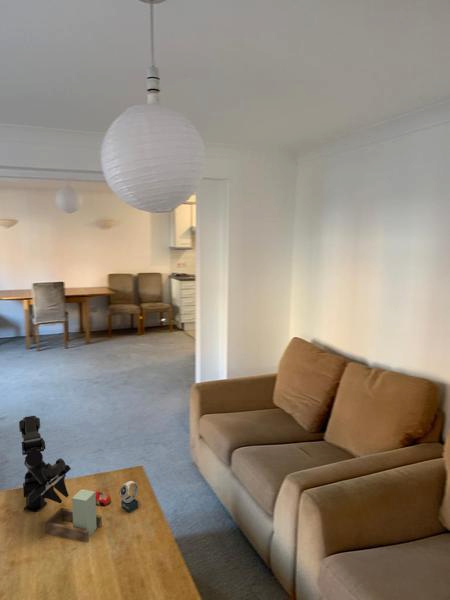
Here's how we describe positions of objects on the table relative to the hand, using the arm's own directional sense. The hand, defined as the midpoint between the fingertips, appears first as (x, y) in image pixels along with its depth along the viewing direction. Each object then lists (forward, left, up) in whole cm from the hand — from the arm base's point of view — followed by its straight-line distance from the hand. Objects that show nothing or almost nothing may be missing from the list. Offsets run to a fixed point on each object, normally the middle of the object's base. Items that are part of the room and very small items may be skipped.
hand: (64, 499), depth 163 cm
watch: (+18, +18, -12) cm, 28 cm away
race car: (+2, +18, -12) cm, 22 cm away
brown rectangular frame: (+4, 0, -12) cm, 12 cm away
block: (+9, 0, -12) cm, 14 cm away
